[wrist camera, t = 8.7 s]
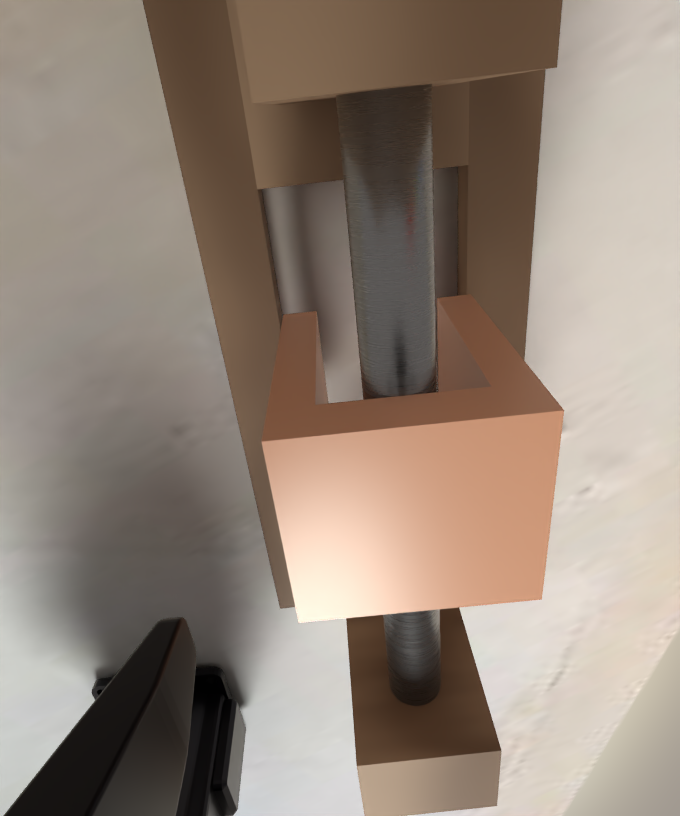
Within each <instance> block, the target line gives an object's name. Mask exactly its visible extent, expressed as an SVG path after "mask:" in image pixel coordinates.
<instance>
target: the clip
mask: <svg viewBox="0 0 680 816" xmlns="http://www.w3.org/2000/svg"><path fill="white" fill-rule="evenodd" d="M437 331H438V392H434V393H424V394H415V395H406V396H396V397H386V398H377V399H367V400H358V401H348V402H338V403H329V404H328V397H327V389H326V381H325V373H324V365H323V357H322V349H321V342H320V334H319V326H318V318H317V311H312V312H302V313H293V314H284V315H283V319H282V325H281V331H280V337H279V343H278V348H277V354H276V360H275V366H274V372H273V377H272V383H271V389H270V395H269V401H268V407H267V412H266V418H265V424H264V430H263V436H262V441H261V442H262V447H263V452H264V457H265V462H266V466H267V471H268V476H269V481H270V486H271V491H272V496H273V501H274V505H275V510H276V515H277V520H278V525H279V530H280V535H281V540H282V544H283V549H284V554H285V559H286V564H287V569H288V574H289V579H290V583H291V588H292V593H293V598H294V603H295V608H296V613H297V618H298V622H299V623H303V622H313V621H323V620H334V619H344V618H354V617H365V616H375V615H385V614H396V613H406V612H416V611H427V610H437V609H447V608H458V607H468V606H478V605H489V604H499V603H509V602H520V601H530V600H540V599H542V592H543V584H544V575H545V567H546V559H547V550H548V542H549V533H550V525H551V516H552V508H553V499H554V491H555V483H556V474H557V466H558V457H559V449H560V440H561V432H562V423H563V415H564V410H563V409H562V407H561V406H560V405H559V404H558V402H557V401H556V400H555V399H554V397H553V396H552V395H551V394H550V392H549V391H548V390H547V389H546V387H545V386H544V385H543V384H542V382H541V381H540V380H539V379H538V377H537V376H536V375H535V374H534V372H533V371H532V370H531V369H530V367H529V366H528V365H527V364H526V362H525V361H524V360H523V359H522V357H521V356H520V355H519V354H518V353H517V351H516V350H515V349H514V348H513V346H512V345H511V344H510V343H509V341H508V340H507V339H506V338H505V336H504V335H503V334H502V333H501V331H500V330H499V329H498V328H497V326H496V325H495V324H494V323H493V321H492V320H491V319H490V318H489V316H488V315H487V314H486V313H485V311H484V310H483V309H482V308H481V306H480V305H479V304H478V303H477V301H476V300H475V299H474V298H473V296H472V295H471V294H469V295H460V296H450V297H441V298H437Z"/></svg>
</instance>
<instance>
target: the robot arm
mask: <svg viewBox="0 0 680 816" xmlns="http://www.w3.org/2000/svg"><path fill="white" fill-rule="evenodd" d="M92 695H93V696H94V698H95V701H94V703H93V704H92V705H91V706H90V708H89V709H88V710H87V711H86V713H85V714H84V715H83V717H82V718H81V719H80V720H79V722H78V723H77V724H76V725H75V727H74V728H73V729H72V730H71V732H70V733H69V734H68V735H67V737H66V738H65V739H64V740H63V742H62V743H61V744H60V745H59V747H58V748H57V749H56V750H55V752H54V753H53V754H52V755H51V757H50V758H49V759H48V760H47V762H46V763H45V764H44V766H43V767H42V768H41V769H40V771H39V772H38V773H37V774H36V776H35V777H34V778H33V779H32V781H31V782H30V783H29V784H28V786H27V787H26V788H25V789H24V791H23V792H22V793H21V794H20V796H19V797H18V798H17V799H16V801H15V802H14V803H13V804H12V806H11V807H10V808H9V809H8V811H7V812H6V813H5V815H4V816H233V815H234V814H235V812H236V811H237V809H238V801H239V791H240V781H241V772H242V762H243V752H244V743H245V733H246V727H245V724H244V721H243V718H242V715H241V712H240V709H239V705H238V702H237V701H236V700H235V699H234V698H232V697H231V694H230V691H229V688H228V685H227V682H226V679H225V676H224V673H223V671H222V670H221V669H220V668H217V667H206V668H197V669H196V647H195V644H194V641H193V639H192V636H191V633H190V630H189V627H188V625H187V622H186V620H185V619H184V618H183V617H175V618H166V619H162V620H160V621H159V622H157V624H156V625H155V626H154V627H153V629H152V630H151V631H150V632H149V634H148V635H147V636H146V637H145V639H144V640H143V641H142V642H141V644H140V645H139V646H138V647H137V649H136V650H135V651H134V652H133V654H132V655H131V656H130V657H129V659H128V660H127V661H126V662H125V664H124V665H123V666H122V668H121V669H120V670H119V671H118V673H117V674H116V675H115V676H114V678H105V679H99V680H97V681H95V683H94V686H93V689H92Z"/></svg>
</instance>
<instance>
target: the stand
mask: <svg viewBox="0 0 680 816" xmlns="http://www.w3.org/2000/svg"><path fill="white" fill-rule="evenodd" d="M143 4H144V9H145V13H146V18H147V22H148V26H149V31H150V35H151V40H152V44H153V49H154V53H155V57H156V62H157V66H158V71H159V75H160V79H161V84H162V88H163V93H164V97H165V102H166V106H167V110H168V115H169V119H170V124H171V128H172V132H173V137H174V141H175V146H176V150H177V155H178V159H179V163H180V168H181V172H182V177H183V181H184V185H185V190H186V194H187V199H188V203H189V208H190V212H191V216H192V221H193V225H194V230H195V234H196V239H197V243H198V247H199V252H200V256H201V261H202V265H203V269H204V274H205V278H206V283H207V287H208V292H209V296H210V300H211V305H212V309H213V314H214V318H215V322H216V327H217V331H218V336H219V340H220V345H221V349H222V353H223V358H224V362H225V367H226V371H227V375H228V380H229V384H230V389H231V393H232V398H233V402H234V406H235V411H236V415H237V420H238V424H239V428H240V433H241V437H242V442H243V446H244V451H245V455H246V459H247V464H248V468H249V473H250V477H251V481H252V486H253V490H254V495H255V499H256V504H257V508H258V512H259V517H260V521H261V526H262V530H263V534H264V539H265V543H266V548H267V552H268V557H269V561H270V565H271V570H272V574H273V579H274V583H275V587H276V592H277V596H278V601H279V605H280V608H289V607H295V603H294V598H293V593H292V588H291V583H290V579H289V574H288V569H287V564H286V559H285V554H284V549H283V544H282V540H281V535H280V530H279V525H278V520H277V515H276V510H275V505H274V501H273V496H272V491H271V486H270V481H269V476H268V471H267V466H266V462H265V457H264V452H263V447H262V442H261V441H262V436H263V430H264V424H265V418H266V412H267V407H268V401H269V395H270V389H271V383H272V377H273V372H274V366H275V360H276V354H277V348H278V343H279V337H280V331H281V325H282V313H281V307H280V301H279V294H278V288H277V282H276V276H275V270H274V263H273V257H272V251H271V245H270V239H269V232H268V226H267V220H266V214H265V208H264V202H263V195H262V189H265V188H274V187H283V186H291V185H300V184H309V183H317V182H326V181H335V180H343V179H344V190H345V201H346V212H347V223H348V234H349V245H350V256H351V267H352V278H353V289H354V300H355V311H356V322H357V333H358V344H359V355H360V366H361V377H362V388H363V399H364V400H367V399H377V398H386V397H396V396H406V395H415V394H424V393H434V392H436V336H435V271H434V207H433V169H439V168H447V167H456V166H458V282H457V296H460V295H469V294H471V295H472V296H473V298H474V299H475V300H476V301H477V303H478V304H479V305H480V306H481V308H482V309H483V310H484V311H485V313H486V314H487V315H488V316H489V318H490V319H491V320H492V321H493V323H494V324H495V325H496V326H497V328H498V329H499V330H500V331H501V333H502V334H503V335H504V336H505V338H506V339H507V340H508V341H509V343H510V344H511V345H512V346H513V348H514V349H515V350H516V351H517V353H518V354H519V355H520V356H521V357H522V359H523V360H524V357H525V343H526V329H527V315H528V301H529V287H530V274H531V260H532V246H533V232H534V218H535V205H536V191H537V177H538V163H539V149H540V135H541V122H542V108H543V94H544V80H545V69H549V68H555V67H557V59H558V47H559V34H560V22H561V10H562V0H143ZM346 620H347V634H348V648H349V662H350V676H351V691H352V705H353V719H354V733H355V747H356V762H357V770H358V777H359V783H360V789H361V796H362V802H363V808H364V815H365V816H407V815H416V814H425V813H435V812H444V811H454V810H463V809H472V808H482V807H491V806H497V798H498V786H499V774H500V761H501V748H500V744H499V741H498V738H497V734H496V731H495V728H494V724H493V721H492V717H491V714H490V711H489V707H488V704H487V701H486V697H485V694H484V690H483V687H482V684H481V680H480V677H479V674H478V670H477V667H476V663H475V660H474V657H473V653H472V650H471V647H470V643H469V640H468V636H467V633H466V630H465V626H464V623H463V620H462V616H461V613H460V610H459V607H458V608H447V609H437V610H427V611H416V612H406V613H396V614H385V615H375V616H365V617H354V618H346Z"/></svg>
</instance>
